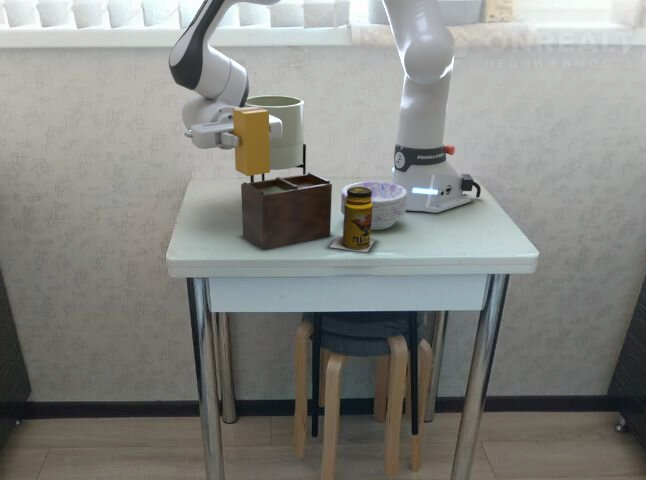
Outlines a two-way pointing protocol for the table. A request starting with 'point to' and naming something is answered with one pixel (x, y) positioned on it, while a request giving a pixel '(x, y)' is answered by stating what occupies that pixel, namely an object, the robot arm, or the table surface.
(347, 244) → the condiment
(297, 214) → the rack
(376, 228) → the paper bowls
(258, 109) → the package
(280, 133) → the robot arm
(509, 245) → the table surface
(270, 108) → the planter
